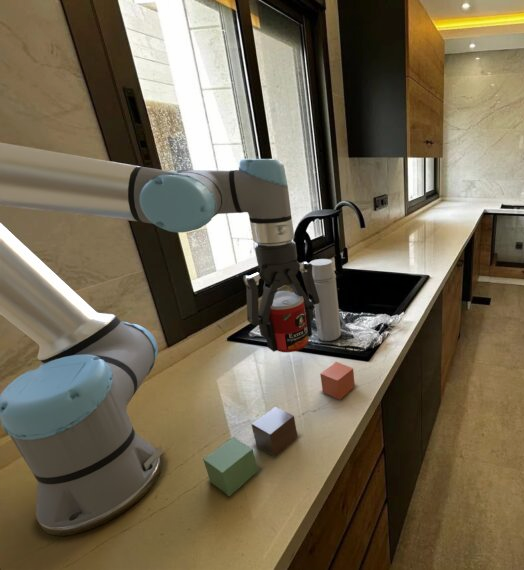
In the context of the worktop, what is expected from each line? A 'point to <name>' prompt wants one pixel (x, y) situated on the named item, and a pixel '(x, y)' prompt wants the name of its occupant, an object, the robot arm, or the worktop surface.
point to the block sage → (231, 465)
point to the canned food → (289, 322)
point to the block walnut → (274, 430)
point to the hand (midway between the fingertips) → (290, 341)
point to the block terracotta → (337, 380)
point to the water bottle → (326, 300)
